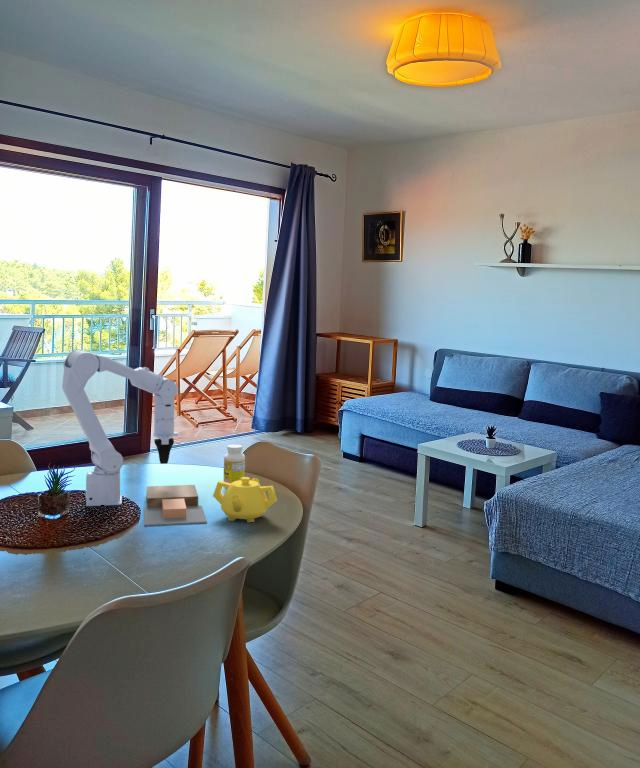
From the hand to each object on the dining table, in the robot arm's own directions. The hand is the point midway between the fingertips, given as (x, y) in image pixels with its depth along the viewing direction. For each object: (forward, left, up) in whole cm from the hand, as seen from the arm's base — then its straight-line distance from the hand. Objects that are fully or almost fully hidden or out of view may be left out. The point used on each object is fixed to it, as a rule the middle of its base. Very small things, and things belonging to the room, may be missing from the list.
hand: (163, 463), depth 207 cm
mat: (+2, -22, -9) cm, 24 cm away
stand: (+2, -8, -9) cm, 13 cm away
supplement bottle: (+22, +6, -10) cm, 25 cm away
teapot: (+21, -25, -10) cm, 34 cm away
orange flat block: (+2, -20, -9) cm, 22 cm away
